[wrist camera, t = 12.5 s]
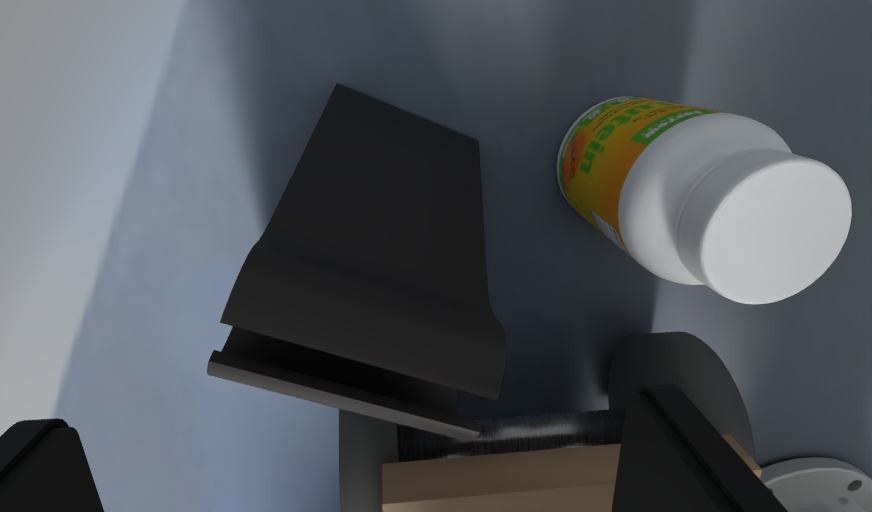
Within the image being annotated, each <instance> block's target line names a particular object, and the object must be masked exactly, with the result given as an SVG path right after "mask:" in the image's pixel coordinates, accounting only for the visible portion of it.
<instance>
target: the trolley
mask: <svg viewBox="0 0 872 512" xmlns="http://www.w3.org/2000/svg"><path fill="white" fill-rule="evenodd" d="M671 383H672V384H675V385H677V386H678V387H679V388H680V389H681V390H682V391H683V392H684V393H685V395H686V396H687V397H688V398H689V399H690V400H691V401H692V403H693V404H694V405H695V406H696V407H697V408H698V409H699V411H700V412H701V413H702V414H703V415H704V416H705V417H706V419H707V420H708V421H709V422H710V423H711V424H712V425H713V426H714V428H715V429H716V430H717V431H718V432H719V433H720V434H721V436H722V437H723V438H724V439H725V440H726V441H727V442H728V444H729V445H730V446H731V447H732V448H733V449H734V450H735V452H736V453H737V454H738V455H739V456H740V457H741V458H742V459H743V461H744V462H745V463H746V464H747V465H748V466H749V467H750V469H751V470H752V471H753V472H754V473H755V474H756V475H757V477H758V478H759V479H760V476H761V472H762V469H761V468H760V467H759V466H758V465H757V464H756V462H755V451H754V442H753V436H752V431H751V426H750V422H749V418H748V415H747V411H746V408H745V406H744V403H743V400H742V397H741V395H740V393H739V390H738V388H737V386H736V384H735V382H734V380H733V378H732V376H731V375H730V373H729V371H728V370H727V368H726V367H725V365H724V363H723V362H722V361H721V359H720V358H719V357H718V356H717V354H716V353H715V352H714V351H713V350H712V349H711V348H710V347H709V346H708V345H707V344H706V343H704V342H703V341H702V340H701V339H699V338H697V337H696V336H694V335H692V334H689V333H686V332H665V333H650V334H635V335H630V336H628V337H626V338H625V339H624V340H622V342H621V343H620V344H619V346H618V347H617V349H616V351H615V354H614V356H613V359H612V363H611V368H610V373H609V386H608V398H609V410H598V411H585V412H572V413H560V414H547V415H534V416H521V417H508V418H495V419H482V420H476V421H480V433H479V434H478V435H477V436H476V437H475V438H474V439H472V440H470V441H464V440H460V439H456V438H452V437H448V436H444V435H440V434H436V433H433V432H429V431H425V430H421V429H417V428H413V427H409V426H398V425H397V423H394V422H390V421H386V420H382V419H378V418H374V417H370V416H366V415H363V414H359V413H355V412H351V411H347V410H343V409H340V411H339V474H340V499H341V512H612V503H613V496H614V489H615V482H616V475H617V468H618V461H619V454H620V448H621V441H622V434H623V427H624V420H625V413H626V406H627V400H628V397H629V396H630V395H631V394H636V392H637V389H638V388H639V386H642V385H653V384H671Z"/></svg>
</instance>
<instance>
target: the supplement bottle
mask: <svg viewBox="0 0 872 512" xmlns="http://www.w3.org/2000/svg"><path fill="white" fill-rule="evenodd" d="M557 178H558V183H559V186H560V189H561V191H562V193H563V195H564V197H565V199H566V200H567V202H568V203H569V204H570V205H571V207H572V208H573V209H574V210H576V211H577V212H578V213H579V214H580V215H581V216H582V217H583V218H585V219H586V220H587V221H588V222H590V223H591V224H592V225H593V226H595V227H596V228H597V229H598V230H599V231H601V232H602V233H603V234H604V235H605V236H607V237H608V238H609V239H610V240H611V241H612V242H614V243H615V244H616V245H617V246H619V247H620V248H621V249H622V250H624V251H625V252H626V253H627V254H628V255H630V256H631V257H632V258H633V259H634V260H635V261H637V262H638V263H639V264H640V265H642V266H643V267H644V268H646V269H647V270H649V271H650V272H651V273H653V274H655V275H657V276H658V277H661V278H663V279H665V280H669V281H672V282H675V283H680V284H686V285H702V284H705V285H707V286H708V287H709V288H711V289H713V290H714V291H716V292H717V293H719V294H720V295H722V296H724V297H726V298H728V299H730V300H732V301H736V302H739V303H745V304H766V303H772V302H776V301H779V300H782V299H785V298H787V297H790V296H792V295H794V294H796V293H798V292H800V291H801V290H803V289H805V288H806V287H807V286H809V285H810V284H812V283H813V282H814V281H815V280H816V279H818V278H819V277H820V276H821V275H822V274H823V273H824V272H825V271H826V270H827V269H828V267H829V266H830V265H831V264H832V263H833V261H834V260H835V259H836V257H837V256H838V254H839V252H840V251H841V249H842V247H843V245H844V243H845V240H846V238H847V235H848V232H849V228H850V224H851V217H852V209H851V199H850V195H849V192H848V189H847V187H846V185H845V183H844V181H843V180H842V179H841V177H840V176H839V175H838V174H837V173H836V172H835V171H834V170H833V169H831V168H830V167H829V166H827V165H825V164H824V163H822V162H819V161H817V160H814V159H810V158H807V157H803V156H800V155H796V154H793V153H792V152H791V150H790V148H789V147H788V145H787V144H786V143H785V141H784V140H783V139H782V138H781V137H780V136H779V135H778V134H777V133H776V132H775V131H774V130H772V129H771V128H769V127H768V126H766V125H764V124H762V123H760V122H758V121H756V120H753V119H751V118H748V117H744V116H741V115H737V114H732V113H726V112H720V111H714V110H709V109H703V108H697V107H691V106H686V105H680V104H675V103H669V102H663V101H658V100H653V99H648V98H642V97H632V96H623V97H616V98H612V99H608V100H606V101H603V102H601V103H599V104H596V105H595V106H593V107H591V108H590V109H588V110H587V111H586V112H584V113H583V114H582V115H581V116H580V117H579V118H578V119H577V120H576V121H575V122H574V123H573V125H572V126H571V127H570V129H569V130H568V132H567V134H566V135H565V137H564V139H563V141H562V144H561V147H560V150H559V153H558V158H557Z"/></svg>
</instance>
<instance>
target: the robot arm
mask: <svg viewBox="0 0 872 512" xmlns="http://www.w3.org/2000/svg"><path fill="white" fill-rule="evenodd" d="M0 512H104V510H103V507H102V504H101V501H100V498H99V495H98V492H97V489H96V486H95V483H94V480H93V477H92V474H91V471H90V468H89V465H88V462H87V459H86V455H85V452H84V449H83V446H82V443H81V440H80V437H79V434H78V432H77V430H76V429H74V428H73V427H69V426H68V424H67V423H66V422H65V421H64V420H63V419H41V420H26V421H25V420H24V421H20V422H17V423H16V424H14V425H13V426H11V427H10V428H9V429H8V430H7V431H6V432H5V433H4V434H3V435H2V436H1V437H0ZM612 512H872V479H871V478H869V477H868V476H867V475H866V474H865V473H864V472H863V471H861V470H860V469H858V468H857V467H855V466H853V465H851V464H849V463H847V462H844V461H840V460H836V459H833V458H820V457H810V458H799V459H792V460H788V461H783V462H779V463H775V464H772V465H770V466H767V467H764V468H762V472H761V476H760V479H759V478H758V477H757V475H756V474H755V473H754V472H753V471H752V470H751V469H750V467H749V466H748V465H747V464H746V463H745V462H744V461H743V459H742V458H741V457H740V456H739V455H738V454H737V453H736V452H735V450H734V449H733V448H732V447H731V446H730V445H729V444H728V442H727V441H726V440H725V439H724V438H723V437H722V436H721V434H720V433H719V432H718V431H717V430H716V429H715V428H714V426H713V425H712V424H711V423H710V422H709V421H708V420H707V419H706V417H705V416H704V415H703V414H702V413H701V412H700V411H699V409H698V408H697V407H696V406H695V405H694V404H693V403H692V401H691V400H690V399H689V398H688V397H687V396H686V395H685V393H684V392H683V391H682V390H681V389H680V388H679V387H678V386H677V385H675V384H672V383H671V384H653V385H642V386H639V388H638V389H637V392H636V394H631V395H630V396H629V397H628V400H627V406H626V413H625V420H624V427H623V434H622V441H621V448H620V454H619V461H618V468H617V475H616V482H615V489H614V496H613V503H612Z"/></svg>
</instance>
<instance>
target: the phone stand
mask: <svg viewBox="0 0 872 512" xmlns="http://www.w3.org/2000/svg"><path fill="white" fill-rule="evenodd" d="M220 323H224V324H228V325H231V326H233V328H232V330H231V332H230V335H229V337H228V339H227V341H226V343H225V345H224V347H223V349H222V351H221V352H220V351H216V350H214V351H213V353H212V355H211V357H210V359H209V362H208V368H207V374H208V375H211V376H215V377H219V378H223V379H227V380H231V381H234V382H238V383H242V384H246V385H250V386H254V387H258V388H262V389H266V390H269V391H273V392H277V393H281V394H285V395H289V396H293V397H297V398H300V399H304V400H308V401H312V402H316V403H320V404H324V405H328V406H332V407H335V408H339V409H343V410H347V411H351V412H355V413H359V414H363V415H366V416H370V417H374V418H378V419H382V420H386V421H390V422H394V423H398V424H401V425H405V426H409V427H413V428H417V429H421V430H425V431H429V432H433V433H436V434H440V435H444V436H448V437H452V438H456V439H460V440H464V441H470V440H472V439H474V438H475V437H476V436H477V435H478V434H479V433H480V421H476V420H472V419H469V418H465V417H461V416H458V412H457V393H458V390H462V391H465V392H469V393H472V394H476V395H479V396H483V397H486V398H490V399H494V400H498V397H499V393H500V390H501V386H502V382H503V377H504V371H505V363H506V340H505V334H504V331H503V328H502V326H501V324H500V323H499V322H498V321H497V319H496V318H495V316H494V314H493V312H492V310H491V307H490V303H489V298H488V290H487V274H486V257H485V240H484V224H483V207H482V191H481V174H480V158H479V142H478V140H475V139H473V138H470V137H468V136H465V135H463V134H460V133H458V132H456V131H453V130H451V129H448V128H446V127H443V126H441V125H438V124H436V123H434V122H431V121H429V120H426V119H424V118H421V117H419V116H416V115H414V114H412V113H409V112H407V111H404V110H402V109H399V108H397V107H394V106H392V105H390V104H387V103H385V102H382V101H380V100H377V99H375V98H372V97H370V96H367V95H365V94H363V93H360V92H358V91H355V90H353V89H350V88H348V87H345V86H343V85H341V84H338V83H337V84H336V86H335V88H334V91H333V93H332V95H331V97H330V99H329V101H328V103H327V105H326V107H325V109H324V111H323V113H322V115H321V117H320V119H319V121H318V124H317V126H316V128H315V130H314V132H313V134H312V136H311V138H310V140H309V142H308V144H307V146H306V148H305V150H304V152H303V154H302V157H301V159H300V161H299V163H298V165H297V167H296V169H295V171H294V173H293V175H292V177H291V179H290V181H289V183H288V185H287V188H286V190H285V192H284V194H283V196H282V198H281V200H280V202H279V204H278V206H277V208H276V210H275V212H274V214H273V216H272V218H271V220H270V222H269V224H268V226H267V228H266V230H265V232H264V233H263V235H262V236H261V238H260V239H259V241H258V242H257V243H256V244H255V245H254V246H253V248H252V249H251V251H250V252H249V254H248V256H247V258H246V260H245V262H244V264H243V266H242V268H241V270H240V273H239V275H238V277H237V279H236V282H235V284H234V287H233V289H232V291H231V294H230V296H229V299H228V302H227V304H226V307H225V310H224V312H223V315H222V318H221V321H220Z"/></svg>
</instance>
